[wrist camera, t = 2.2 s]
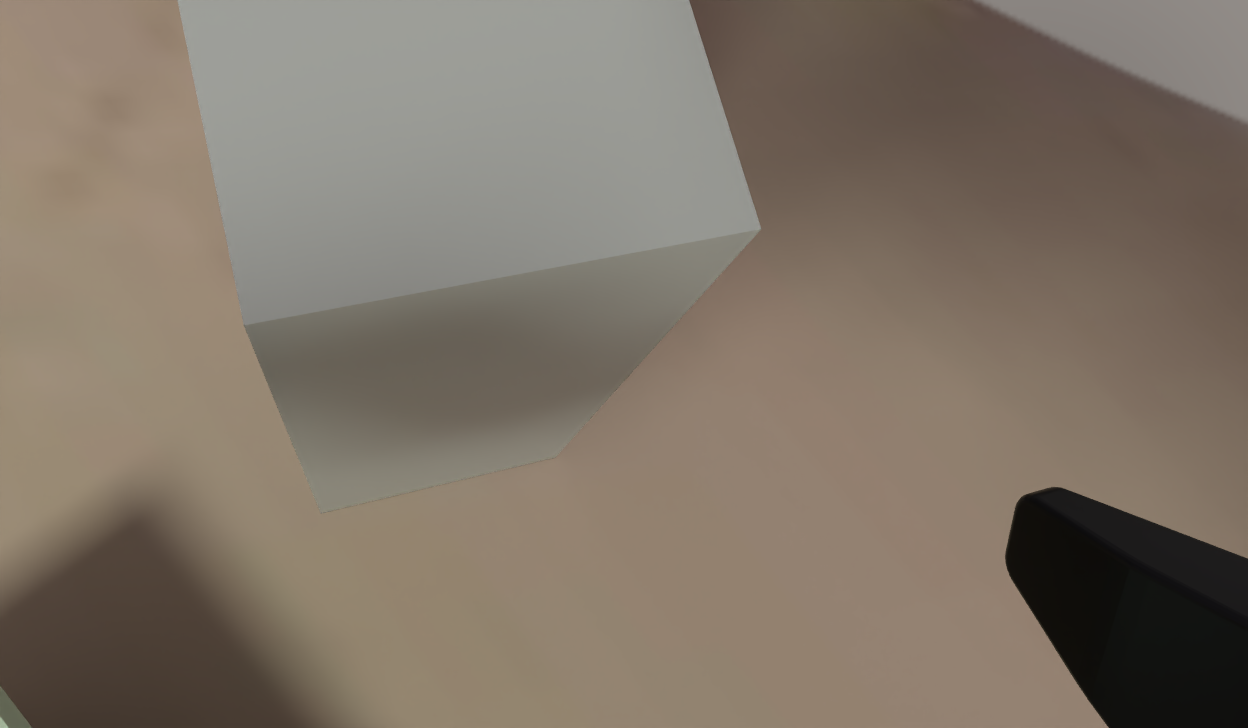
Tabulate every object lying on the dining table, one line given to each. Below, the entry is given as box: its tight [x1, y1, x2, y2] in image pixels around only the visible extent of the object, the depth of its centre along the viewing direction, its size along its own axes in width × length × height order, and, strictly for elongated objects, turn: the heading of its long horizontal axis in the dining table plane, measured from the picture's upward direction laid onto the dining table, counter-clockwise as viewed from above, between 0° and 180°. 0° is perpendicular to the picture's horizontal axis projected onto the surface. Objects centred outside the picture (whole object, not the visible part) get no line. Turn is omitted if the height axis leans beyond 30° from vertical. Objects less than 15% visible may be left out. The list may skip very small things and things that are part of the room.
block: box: [178, 0, 761, 513], centre depth 16 cm, size 5×5×13 cm
